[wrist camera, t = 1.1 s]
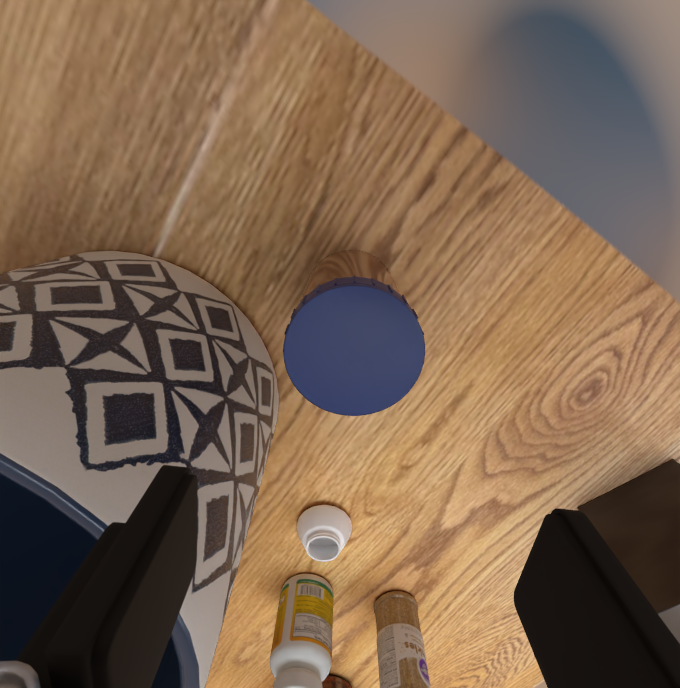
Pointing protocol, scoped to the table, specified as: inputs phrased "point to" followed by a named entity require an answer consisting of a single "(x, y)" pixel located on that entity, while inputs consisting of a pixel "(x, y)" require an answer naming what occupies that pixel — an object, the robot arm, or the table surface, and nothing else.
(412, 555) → the table surface
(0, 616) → the planter
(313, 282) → the jar
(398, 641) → the spice jar
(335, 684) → the sauce bottle
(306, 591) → the supplement bottle
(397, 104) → the table surface
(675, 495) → the stand
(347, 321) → the lid
